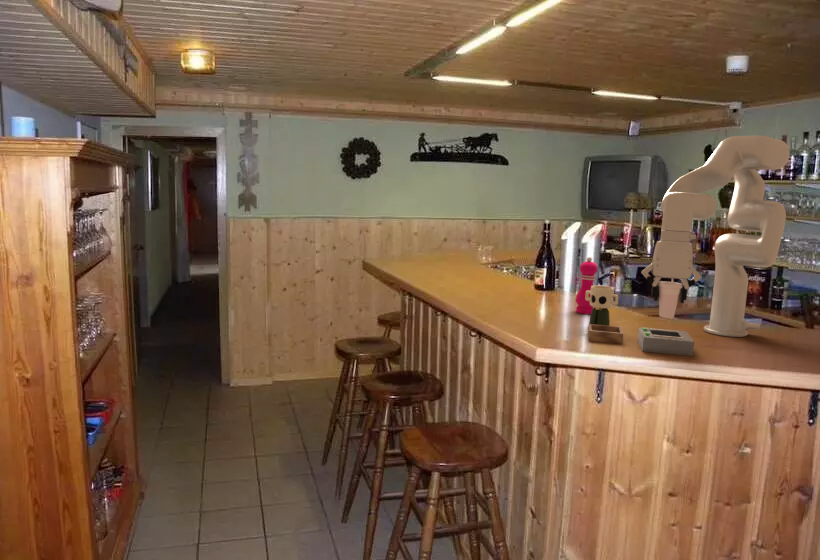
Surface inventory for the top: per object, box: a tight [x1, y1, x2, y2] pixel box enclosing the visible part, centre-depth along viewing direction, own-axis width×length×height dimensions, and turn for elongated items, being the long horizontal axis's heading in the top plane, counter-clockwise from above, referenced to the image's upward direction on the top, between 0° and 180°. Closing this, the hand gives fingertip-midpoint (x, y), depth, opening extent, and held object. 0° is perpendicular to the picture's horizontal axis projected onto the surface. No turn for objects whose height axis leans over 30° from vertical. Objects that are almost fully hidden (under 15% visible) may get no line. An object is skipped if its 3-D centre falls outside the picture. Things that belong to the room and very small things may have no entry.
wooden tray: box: [587, 323, 624, 345], centre depth 187 cm, size 9×9×3 cm
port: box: [637, 326, 695, 357], centre depth 179 cm, size 13×13×5 cm
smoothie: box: [658, 278, 683, 319], centre depth 176 cm, size 6×6×14 cm
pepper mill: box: [575, 256, 598, 315], centre depth 225 cm, size 7×7×20 cm
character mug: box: [585, 284, 619, 326], centre depth 202 cm, size 11×7×13 cm, turn 50°
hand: (668, 300), depth 177 cm, fingers closed on smoothie, 6 cm apart
